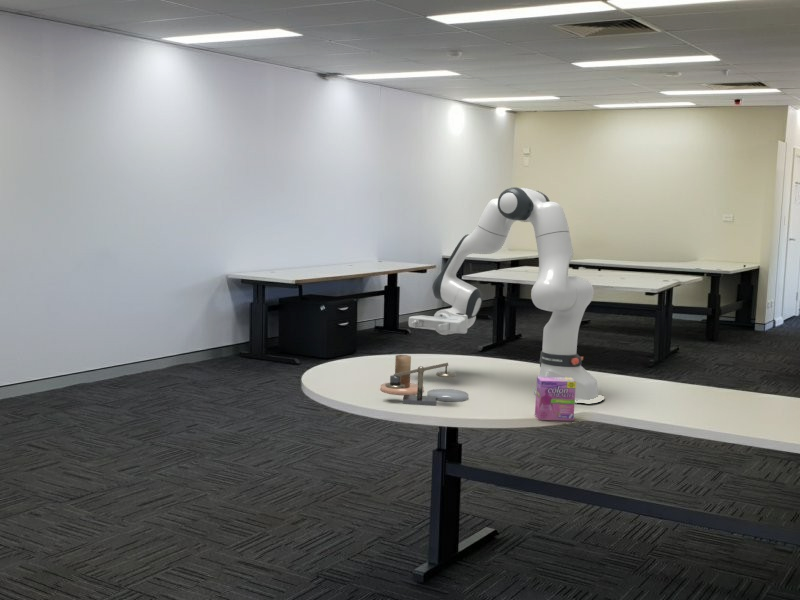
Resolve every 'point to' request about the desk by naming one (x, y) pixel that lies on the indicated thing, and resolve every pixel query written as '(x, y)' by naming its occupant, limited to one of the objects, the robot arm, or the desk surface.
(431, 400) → the balance
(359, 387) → the desk surface
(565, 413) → the box
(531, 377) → the desk surface
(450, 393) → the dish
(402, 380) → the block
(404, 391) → the dish
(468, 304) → the robot arm
